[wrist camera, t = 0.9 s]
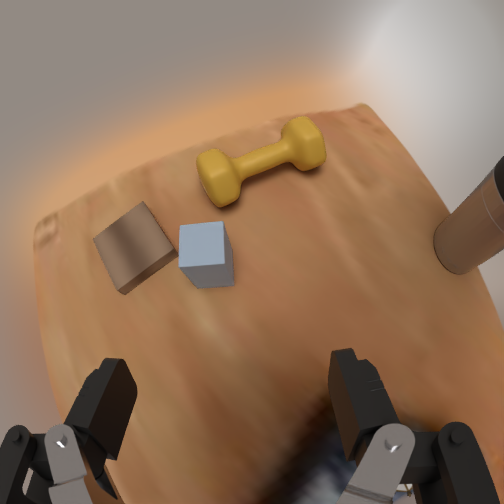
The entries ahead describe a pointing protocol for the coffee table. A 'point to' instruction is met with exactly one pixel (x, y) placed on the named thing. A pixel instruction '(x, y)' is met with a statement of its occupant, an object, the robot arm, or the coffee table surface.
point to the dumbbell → (260, 160)
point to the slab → (134, 248)
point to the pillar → (206, 255)
